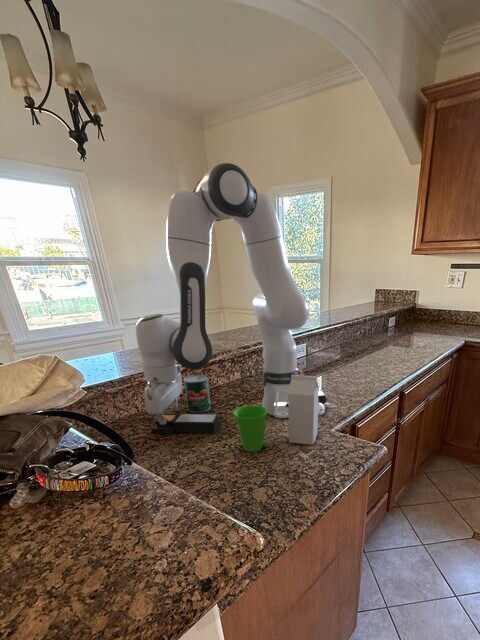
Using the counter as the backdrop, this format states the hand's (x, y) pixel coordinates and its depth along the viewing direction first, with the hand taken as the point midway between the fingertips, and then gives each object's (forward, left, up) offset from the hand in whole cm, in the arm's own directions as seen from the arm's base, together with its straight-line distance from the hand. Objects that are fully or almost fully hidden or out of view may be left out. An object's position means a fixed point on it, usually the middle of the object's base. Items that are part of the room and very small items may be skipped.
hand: (169, 417), depth 108 cm
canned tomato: (-5, -16, -4) cm, 17 cm away
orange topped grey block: (+1, +1, -3) cm, 3 cm away
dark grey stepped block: (-5, 0, -3) cm, 6 cm away
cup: (-27, +13, -4) cm, 31 cm away
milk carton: (-41, +7, -4) cm, 42 cm away
